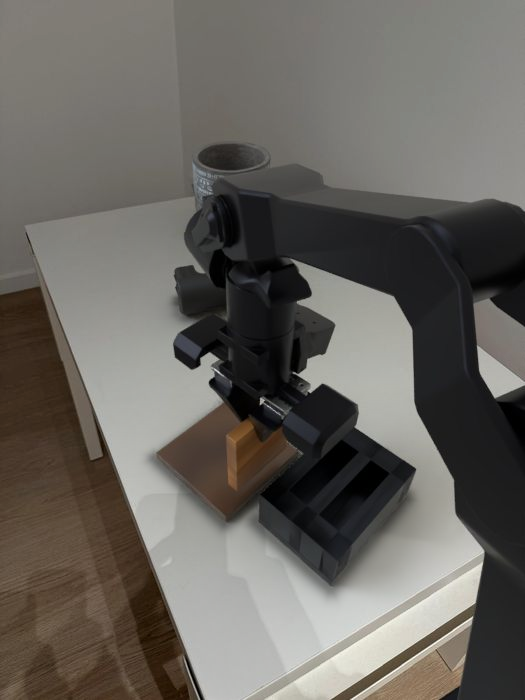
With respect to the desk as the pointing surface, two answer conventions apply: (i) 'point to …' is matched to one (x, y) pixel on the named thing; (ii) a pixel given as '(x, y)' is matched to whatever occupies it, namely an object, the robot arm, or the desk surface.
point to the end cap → (197, 291)
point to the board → (216, 463)
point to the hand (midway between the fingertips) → (258, 434)
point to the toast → (250, 452)
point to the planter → (224, 164)
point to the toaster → (335, 502)
